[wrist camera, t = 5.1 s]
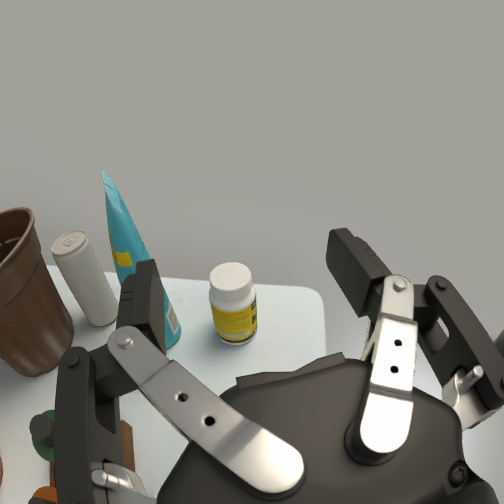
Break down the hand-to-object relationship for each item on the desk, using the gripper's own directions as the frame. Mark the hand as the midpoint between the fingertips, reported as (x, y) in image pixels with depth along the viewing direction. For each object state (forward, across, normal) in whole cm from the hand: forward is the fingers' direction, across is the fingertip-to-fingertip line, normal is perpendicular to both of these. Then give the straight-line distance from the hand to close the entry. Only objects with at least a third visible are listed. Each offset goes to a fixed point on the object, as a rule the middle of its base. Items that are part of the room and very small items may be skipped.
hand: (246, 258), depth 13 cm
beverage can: (+16, -17, -19) cm, 30 cm away
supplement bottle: (+10, 0, -19) cm, 22 cm away
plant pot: (+12, -27, -19) cm, 35 cm away
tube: (+12, -9, -19) cm, 24 cm away
